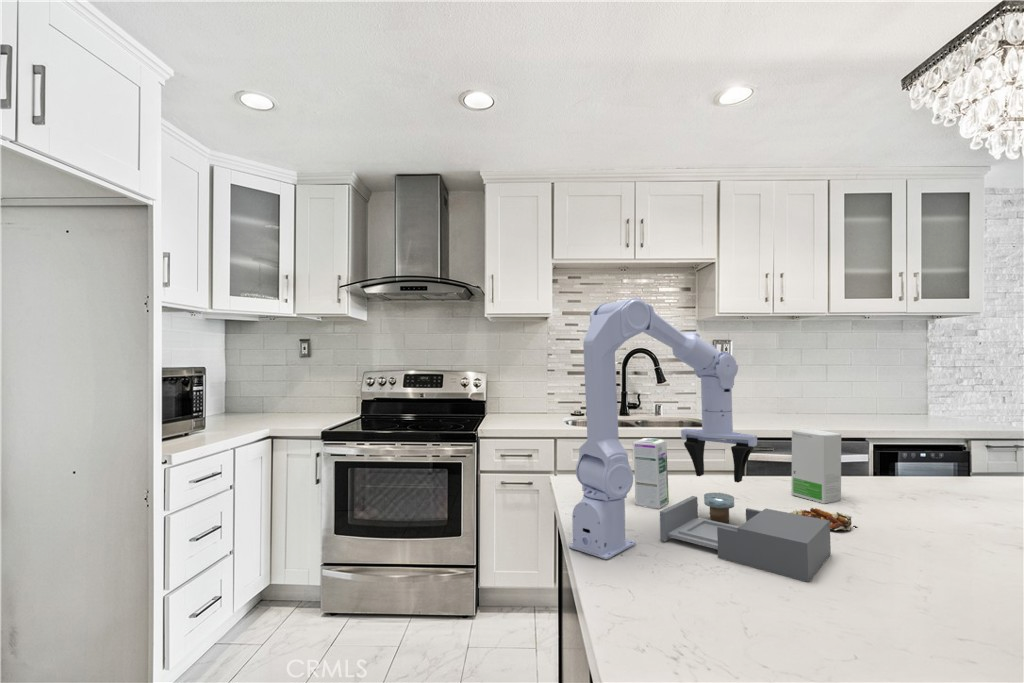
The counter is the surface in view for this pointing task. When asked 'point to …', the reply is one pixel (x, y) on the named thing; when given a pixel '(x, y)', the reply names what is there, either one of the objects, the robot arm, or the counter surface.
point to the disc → (719, 500)
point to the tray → (689, 524)
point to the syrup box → (651, 472)
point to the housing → (777, 543)
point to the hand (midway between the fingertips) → (718, 478)
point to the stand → (719, 515)
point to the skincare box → (816, 465)
